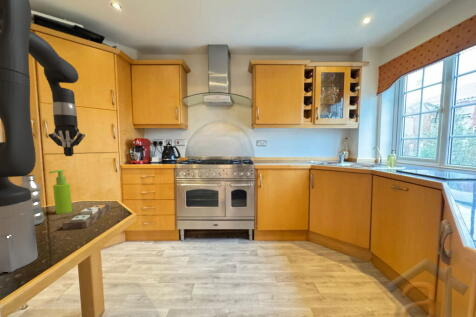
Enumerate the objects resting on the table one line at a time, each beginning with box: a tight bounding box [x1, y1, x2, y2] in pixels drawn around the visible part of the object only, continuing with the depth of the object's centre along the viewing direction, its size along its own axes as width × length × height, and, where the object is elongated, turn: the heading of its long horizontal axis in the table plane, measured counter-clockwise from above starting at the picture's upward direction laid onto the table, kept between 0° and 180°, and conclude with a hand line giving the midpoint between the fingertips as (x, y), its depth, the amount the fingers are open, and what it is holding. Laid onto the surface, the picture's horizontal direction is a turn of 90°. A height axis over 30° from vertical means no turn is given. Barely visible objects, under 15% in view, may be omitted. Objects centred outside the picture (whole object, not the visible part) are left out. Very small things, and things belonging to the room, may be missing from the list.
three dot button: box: [79, 207, 98, 215], centre depth 87 cm, size 4×4×3 cm
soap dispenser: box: [49, 169, 73, 215], centre depth 95 cm, size 6×7×20 cm
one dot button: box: [90, 204, 106, 209], centre depth 94 cm, size 4×4×3 cm
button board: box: [62, 204, 112, 230], centre depth 88 cm, size 21×8×2 cm, turn 10°
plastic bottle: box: [19, 174, 45, 226], centre depth 81 cm, size 6×7×20 cm
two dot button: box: [70, 215, 90, 221], centre depth 81 cm, size 4×4×3 cm
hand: (69, 156), depth 86 cm, fingers closed
